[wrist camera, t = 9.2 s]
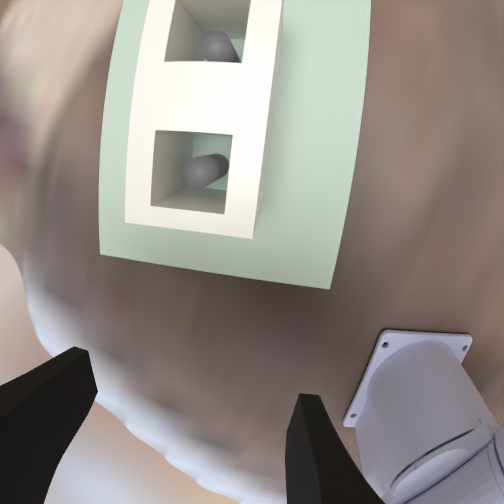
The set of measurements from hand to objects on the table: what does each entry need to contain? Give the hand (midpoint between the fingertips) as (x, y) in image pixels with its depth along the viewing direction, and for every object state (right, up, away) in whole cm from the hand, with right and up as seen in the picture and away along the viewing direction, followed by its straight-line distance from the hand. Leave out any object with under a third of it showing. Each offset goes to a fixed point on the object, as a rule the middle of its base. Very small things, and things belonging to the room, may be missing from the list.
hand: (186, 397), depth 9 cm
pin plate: (+1, +12, +6) cm, 13 cm away
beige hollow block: (+1, +11, +4) cm, 12 cm away
